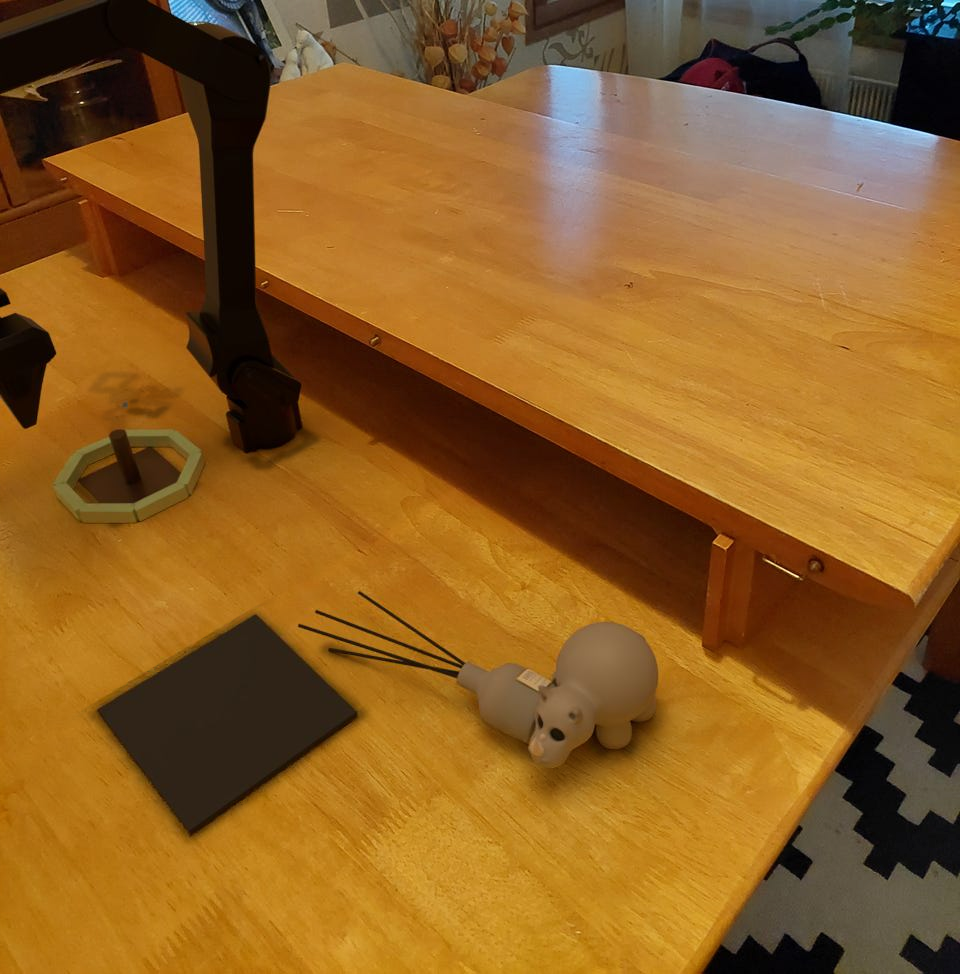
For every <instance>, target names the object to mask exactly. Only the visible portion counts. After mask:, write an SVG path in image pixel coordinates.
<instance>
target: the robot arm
mask: <svg viewBox="0 0 960 974" xmlns="http://www.w3.org/2000/svg"><path fill="white" fill-rule="evenodd" d="M124 49H134V50H136V51H137V52H139V53H142V54H143V55H145V56H148V57H149V58H151V59H152V60H155V61H157V62H159V63H161V64H162V65H164V66H166V67H168V68H170V69H172V70H174V71H176V72H177V76H178V80H179V86H180V89H181V94H182V98H183V102H184V105H185V108H186V110H187V113H188V116H189V119H190V121H191V124H192V127H193V130H194V132H195V136H196V139H197V143H198V156H199V157H198V159H199V176H200V177H199V178H200V195H201V196H200V197H201V215H202V216H201V217H202V233H203V250H204V251H203V253H204V270H205V271H204V272H205V286H206V287H205V291H206V292H205V293H206V294H205V299H204V301H203V304H202V305H201V309H200V310H199V311H187V312H185V320H186V323H187V327H188V342H187V344H186V348H185V349H186V350H187V351H188V352H189V353H190V355H191V356H192V357H193V358H194V359H195V361H196V362H197V364H198V365H199V366H200V367H201V369H202V370H203V371H204V372H205V374H206V375H207V376H208V377H209V378H210V379H211V381H212V383H214V384H215V386H216V387H217V388H218V389H219V391H220V392H221V393H222V394H223V395H225V396H226V398H225V399H226V402H227V406H228V411H226V412H225V417H226V422H227V425H228V428H229V429H228V430H229V434H230V438H231V441H232V445H234V446H235V447H236V448H237V449H239V450H240V451H241V452H243V453H244V454H250V453H255V452H258V451H260V450H262V451H263V450H264V451H265V450H266V451H267V450H273V449H278V448H280V447H283V446H285V445H288V444H289V443H290V442H291V441H292V440H294V439H295V437H296V436H297V433H298V432H299V431H300V430H302V429H303V428H304V427H303V426H304V425H303V421H302V417H301V410H300V405H299V401H300V395H301V389H302V383H301V381H300V380H299V379H298V378H297V377H295V375H294V374H293V373H292V372H291V371H290V370H289V369H288V368H287V367H286V366H285V365H284V363H282V362H281V361H280V359H278V357H277V356H276V355H275V354H273V353H272V348H271V343H270V338H269V335H268V332H267V330H266V327H265V324H264V322H263V319H262V316H261V313H260V311H259V307H258V304H257V275H256V270H257V269H256V267H257V266H256V229H255V227H256V225H255V223H256V222H255V220H256V219H255V180H254V179H255V178H254V175H255V174H254V173H255V172H254V151H255V146H256V143H257V141H258V138H259V137H260V133H261V131H262V129H263V126H264V124H265V122H266V118H267V112H268V106H269V99H270V91H271V85H272V71H271V64H270V62H269V59H268V57H267V56H266V54H265V53H264V52H263V51H262V49H261V48H260V47H259V46H258V45H257V43H255V42H253V41H252V40H250V39H247V38H246V37H244V36H242V35H240V34H238V33H236V32H235V31H232V30H230V29H228V28H226V27H224V26H222V25H220V24H216V23H211V22H205V23H198V24H196V25H193V24H191V23H189V22H187V21H185V20H184V19H182V18H180V17H178V16H177V15H175V14H173V13H171V12H169V11H167V10H165V8H162V7H160V6H158V5H156V4H155V3H153V2H151V1H149V0H62V1H61V0H60V1H59V2H56V3H53V4H50V5H47V6H44V7H41V8H38V9H36V10H35V9H34V10H33V11H29V12H27V13H24V14H21V15H18V16H15V17H12V18H10V19H7V20H3V21H1V22H0V95H3V94H5V93H9V92H10V91H14V90H16V89H19V88H22V87H24V86H27V85H30V84H32V83H35V82H38V81H40V80H43V79H46V78H48V77H51V76H54V75H56V74H59V73H63V72H64V71H67V70H70V69H73V68H76V67H79V66H81V65H83V64H87V63H88V62H91V61H94V60H97V59H100V58H103V57H105V56H108V55H110V54H113V53H116V52H119V51H121V50H124ZM11 304H12V303H11V301H10V298H9V296H8V293H7V292H6V291H5V290H4V289H3V288H1V287H0V309H1V308H4V307H7V306H9V305H11ZM56 355H57V350H56V348H55V344H54V343H53V340H52V338H51V335H50V332H49V331H47V330H46V329H45V328H44V327H42V326H41V325H40V324H39V323H37V322H36V321H35V320H34V319H32V318H30V317H28V316H25V315H23V314H21V313H18V312H13V313H10V314H8V315H6V316H3V317H2V316H0V399H1V401H2V402H3V403H4V404H5V406H6V407H7V409H8V410H9V411H10V413H11V414H12V416H13V417H14V419H16V421H17V422H18V423H19V425H20V426H21V427H22V428H23V429H24V430H27V429H30V428H32V427H34V426H36V425H37V422H38V416H39V410H40V402H41V396H42V390H43V383H44V378H45V374H46V369H47V365H48V364H49V363H50V362H51V361H52V360H53V359H54V358H55V356H56Z"/></svg>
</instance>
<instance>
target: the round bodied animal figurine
mask: <svg viewBox="0 0 960 974" xmlns="http://www.w3.org/2000/svg"><path fill="white" fill-rule="evenodd" d="M561 646H562V647H561V648H560V650H559V652H558V655H557V658H556V663H555V670H554V672H555V675H556V683H557V686H558V687H554V688H552V689H550V690H549V689H548V688H547V687H545V686H543V685H540V686H539V688H538V689H539V693H540V699H539V700H538V702H537V704H536V706H535V721H536V728H535V731H534V733H533V735H532V737H531V739H530V742H529V744H528V747H527V751H528V752H529V753H530V756H531V758H532V760H533V761H534V762H535V764H537V765H538V766H540V767H543V768H547V769H554V768H558V767H560V766H561V765H562V764H564V763H565V762H566V760H567V758H569V755H570V753H571V752H572V751H573V750H574V749H575V748H577V747H579V746H581V745H583V744H585V743H586V742H587V741H588V740H589V739H590V738H591V737H592V735H593V734H594V730H595V736H596V739H597V740H598V743H600V745H601V746H602V747H604V748H605V749H608V750H609V749H610V750H619V749H622V748H625V747H626V746H628V745H629V744H630V742H631V739H632V736H633V727H632V723H631V721H632V722H637V723H641V722H642V723H643V722H646V721H649V720H650V719H652V718H653V717H654V715H655V714H656V710H657V697H656V692H657V689H658V685H659V667H658V662H657V658H656V655H655V653H654V651H653V649H652V647H651V646H650V644H649V643H648V642H647V640H646V638H645V636H644V635H643V634H641V633H639V632H637V631H635V630H634V629H632V628H631V627H628V625H624V624H621V623H619V622H612V621H598V622H593V623H590V624H587V625H584V626H583V627H581V628H579V629H577V630H576V631H574V632H573V633H572V634H570V636H569V637H568V638H567V639H566V640H565V642H564V643H563V645H561Z"/></svg>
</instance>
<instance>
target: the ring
mask: <svg viewBox="0 0 960 974" xmlns="http://www.w3.org/2000/svg"><path fill="white" fill-rule="evenodd" d="M125 431H126V433H127V436H128V439H129V442H130V445H131V448H132V447H133V448H139V447H140V448H141V447H142V448H143V447H144V448H147V447H152V448H155V447H159V448H160V447H162V448H163V447H164V448H165V447H166V448H167V447H170V448H173V449H174V451H176V452H177V454H179V455H180V456H182V457H183V458H184V459H185V460H186V461H185V463H184V466H183V468H182V470H181V471H180V472H181V474H180V476H179V479H178V481H177V482H176V483H174V484H172V485H170V486H168V487H166V488H164V489H162V490H160V491H158V492H156V493H154V494H152V495H150V496H148V497H146V498H144V499H142V500H140V501H137V502H135V503H104V504H100V503H86V502H85V500H83V498H82V497H81V496H80V495H79V494H78V493H77V492H76V491H75V490H74V488H75V487H76V485H77V484H78V483H79V481H78V480H79V478H82V475H83V473H84V472H85V470H86V468H87V466H90V465H91V464H94V463H97V462H98V461H100V460H103V459H105V458H108V457H109V456H112V455H113V454H114V455H115V453H114V450H113V447H112V444H111V441H110V439H109V435H108V436H106V437H104V438H102V439H99V440H97V441H95V442H93V443H91V444H90V443H89V444H88V445H85V446H84V447H83V446H82V447H81V448H79V449H77V450H75V452H73V453H71V455H70V457H69V458H68V460H67V461H66V463H65V464H64V466H63V468H62V469H61V471H60V472H59V474H58V476H57V477H56V479H54V482H53V483H52V485H53V486H52V488H53V490H54V493H55V495H56V499H58V500H59V501H60V502H61V504H62V505H63V506H64V507H65V508H66V509H67V510H68V511H69V512H70V513H71V514H72V515H73V516H74V517H75V519H76V520H77V521H79V522H82V523H83V524H85V523H86V524H100V523H101V524H113V523H114V524H120V523H121V524H126V523H127V524H133V523H134V524H136V523H137V522H142V521H145V520H147V519H148V518H150V517H153V516H154V515H157V514H159V513H160V512H162V511H164V510H166V509H168V508H170V507H173V506H174V505H177V504H179V503H180V502H182V501H184V500H186V499H189V496H191V495H192V494H193V492H194V490H195V487H196V485H197V483H198V480H199V478H200V476H201V474H202V471H203V469H204V467H205V464H206V461H205V458H204V454H203V451H202V449H200V448H199V447H198V446H197V445H196V444H195V443H193V442H192V441H191V440H190V439H188V438H187V437H186V436H185V435H183V434H182V433H181V432H180V431H179V430H175V429H174V428H171V429H168V428H165V429H163V428H161V429H159V428H157V429H125Z"/></svg>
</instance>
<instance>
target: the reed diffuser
mask: <svg viewBox="0 0 960 974" xmlns="http://www.w3.org/2000/svg"><path fill="white" fill-rule="evenodd" d="M357 595H359V596H361V597H362V598H364V599H365V600H366V601H368V602H369V603H371V604H373V605H374V606H376V607H377V608H378V609H380V610H381V611H383V612H384V613H386V615H388V616H390V617H391V618H393V619H394V620H396V621H397V622H399V623H400V624H402V625H403V626H404V627H406V628H407V629H409V630H410V631H411V632H414V633H415V634H416V635H417V636H419V637H421V638H422V639H423V640H425V641H427V643H429V644H430V645H432V646H434V647H435V648H437V649H438V650H440V651H441V652H442V653H444V654H445V655H447V656H448V657H450V658H451V659H452V660H449V659H447V658H445V657H443V656H442V657H441V656H439V655H437V654H433V653H432V652H429V651H426V650H423V649H421V648H418V647H415V646H412V645H410V644H408V643H405V642H403V641H400V640H397V639H394V638H393V637H390V636H387V635H384V634H381V633H379V632H376V631H373V630H371V629H368V628H366V627H363V626H360V625H357V624H355V623H353V622H350V621H347V620H345V619H342V618H339V617H337V616H334V615H332V614H329V613H327V612H324V611H321V610H319V609H315V611H314V613H315V614H317V615H320V616H322V617H324V618H327V619H329V620H333V621H336V622H338V623H341V624H343V625H345V626H348V627H350V628H354V629H356V630H359V631H361V632H365V633H366V634H369V635H372V636H374V637H377V638H380V639H382V640H384V641H387V642H390V643H393V644H395V645H398V646H401V647H404V648H406V649H409V650H411V651H414V652H417V653H418V654H422V655H424V656H427V657H430V658H432V659H435V660H438V661H440V662H443V663H445V664H448V665H451V666H453V667H456V668H458V669H460V670H453V669H448V668H442V667H437V666H432V665H428V664H425V663H423V662H419V661H417V660H413V659H410V658H406V657H404V656H400V655H398V654H394V653H391V652H388V651H385V650H382V649H379V648H376V647H373V646H370V645H366V644H363V643H361V642H357V641H354V640H351V639H348V638H345V637H342V636H338V635H336V634H333V633H330V632H326V631H323V630H320V629H318V628H314V627H311V626H308V625H305V624H301V623H298V625H297V627H298V628H299V629H302V630H306V631H309V632H313V633H316V634H319V635H320V636H321V635H322V636H324V637H327V638H331V639H334V640H336V641H340V642H343V643H346V644H349V645H352V646H355V647H358V648H360V649H361V648H362V649H364V650H367V651H371V652H374V653H377V654H380V655H383V656H386V657H383V656H377V655H372V654H365V653H361V652H356V651H355V652H354V651H349V650H344V649H339V648H334V647H328V649H327V650H328V652H333V653H337V654H343V655H349V656H352V657H353V656H354V657H359V658H363V659H369V660H375V661H380V662H387V663H392V664H397V665H403V666H407V667H412V668H418V669H423V670H430V671H432V672H435V673H439V674H442V675H445V676H448V677H451V678H455V679H456V682H455V683H456V685H457V686H460V687H461V688H462V689H465V690H467V691H468V692H470V693H472V694H474V695H476V698H477V704H478V710H479V713H480V716H481V719H482V720H483V721H484V722H485V723H487V724H489V725H490V726H491V727H493V728H495V729H497V730H499V731H501V732H502V733H504V734H507V735H508V736H509V737H513V738H514V739H516V740H519V741H520V742H522V743H524V744H527V745H529V742H530V739H531V737H532V735H533V733H534V731H535V728H536V721H535V706H536V704H537V702H538V700H539V699H540V693H539V689H538V688H539V686H540V685H543V686H545V687H547V688H548V689H549V690H550V689H552V688H554V687H558V686H557V683H556V675H555V671H554V672H553V673H552V680H550V679H549V678H547V677H545V676H543V675H541V674H540V673H538V672H536V671H534V670H532V669H531V668H529V667H524V666H522V665H519V664H517V663H514V662H513V663H512V662H508V663H503V664H502V665H500V666H498V667H495V668H494V669H491V670H490V671H489V670H486V669H484V668H482V667H480V666H478V665H477V664H475V663H473V662H471V661H466V662H465V661H463V660H462V659H461V658H459V657H458V656H456V655H455V654H453V653H451V652H450V651H449V650H447V649H446V648H444V647H443V646H441V645H440V644H438V643H437V642H436V641H434V640H433V639H432V638H430V637H428V636H427V635H426V634H424V633H422V632H421V631H420V630H418V629H417V628H415V627H414V626H412V625H411V624H409V623H408V622H407V621H405V620H403V619H401V618H400V617H399V616H397V615H396V614H395V613H393V612H391V611H390V610H389V609H387V608H386V607H384V606H383V605H381V604H380V603H379V602H377V601H376V600H374V599H373V598H371V597H370V596H369V595H367V594H365V593H364V592H362V591H361V590H358V591H357ZM388 657H389V658H388ZM453 660H454V661H453ZM455 661H456V662H455Z"/></svg>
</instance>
